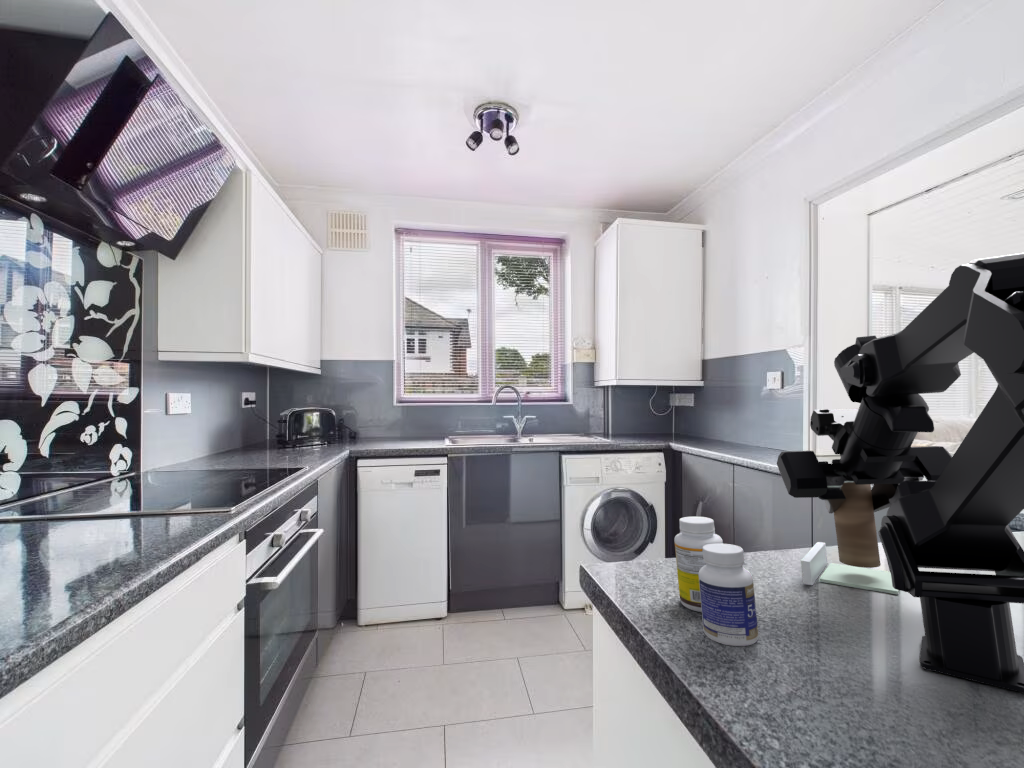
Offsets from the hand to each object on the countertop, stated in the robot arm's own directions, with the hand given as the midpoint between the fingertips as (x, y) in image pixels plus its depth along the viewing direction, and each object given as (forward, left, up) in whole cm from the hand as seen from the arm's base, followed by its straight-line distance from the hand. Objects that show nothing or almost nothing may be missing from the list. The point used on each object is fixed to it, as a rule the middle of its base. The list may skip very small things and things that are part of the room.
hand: (848, 510), depth 63 cm
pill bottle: (-27, +7, -9) cm, 30 cm away
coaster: (-1, -1, -9) cm, 9 cm away
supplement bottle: (-21, +13, -9) cm, 26 cm away
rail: (-2, +4, -9) cm, 10 cm away
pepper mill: (-1, -1, -7) cm, 7 cm away
